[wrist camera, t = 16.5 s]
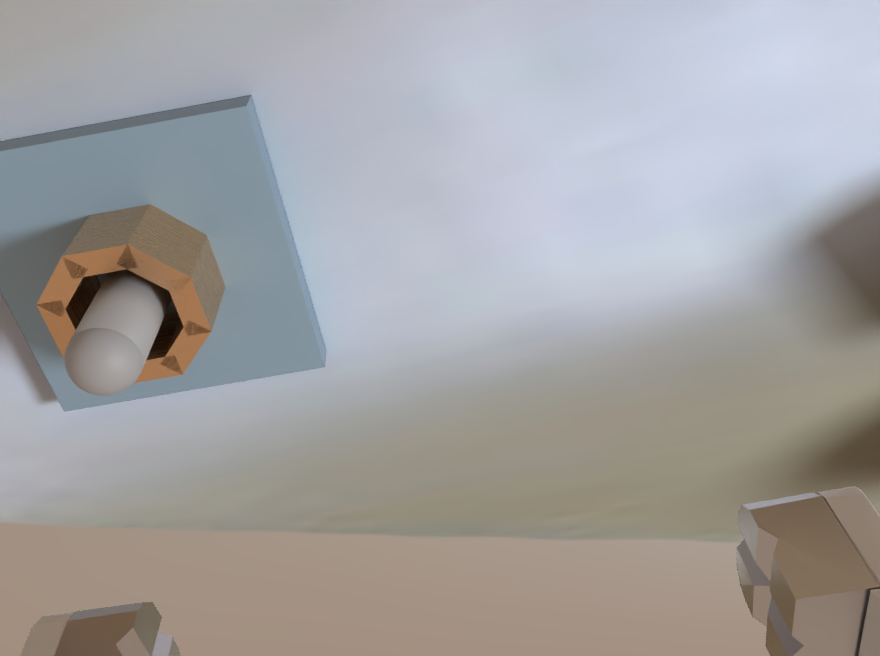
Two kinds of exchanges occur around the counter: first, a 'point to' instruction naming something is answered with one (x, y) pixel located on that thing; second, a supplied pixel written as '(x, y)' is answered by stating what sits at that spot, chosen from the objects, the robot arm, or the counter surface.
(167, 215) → the copper ring
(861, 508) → the robot arm
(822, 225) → the counter surface
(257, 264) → the post base
